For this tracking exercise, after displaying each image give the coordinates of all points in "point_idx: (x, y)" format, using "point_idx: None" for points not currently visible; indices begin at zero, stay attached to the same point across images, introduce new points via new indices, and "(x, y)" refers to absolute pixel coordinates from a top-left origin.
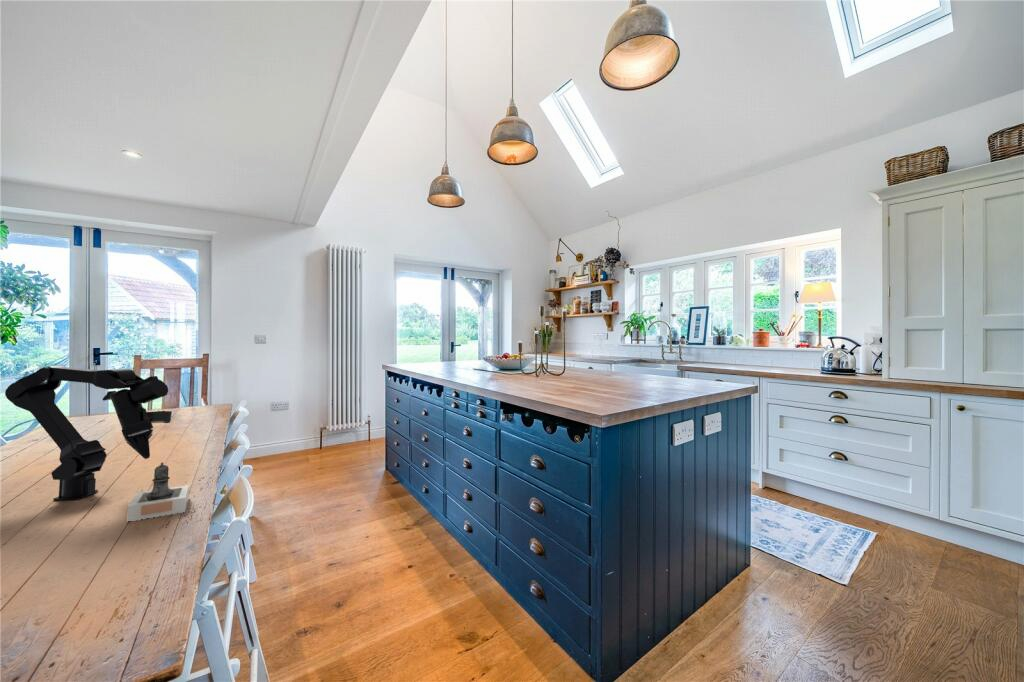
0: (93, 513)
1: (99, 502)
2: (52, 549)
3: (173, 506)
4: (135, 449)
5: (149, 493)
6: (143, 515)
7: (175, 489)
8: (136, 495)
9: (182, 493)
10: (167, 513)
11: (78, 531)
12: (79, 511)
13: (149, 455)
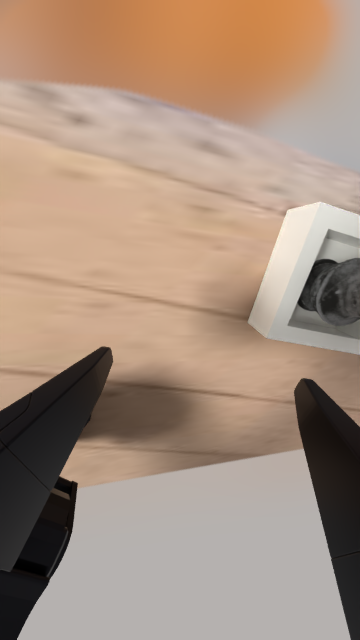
0: (221, 385)
1: (145, 381)
2: (352, 412)
3: None
4: (70, 449)
5: (344, 319)
6: None
7: (317, 248)
8: (293, 340)
9: None
10: None
11: None
12: (186, 404)
13: (314, 382)
